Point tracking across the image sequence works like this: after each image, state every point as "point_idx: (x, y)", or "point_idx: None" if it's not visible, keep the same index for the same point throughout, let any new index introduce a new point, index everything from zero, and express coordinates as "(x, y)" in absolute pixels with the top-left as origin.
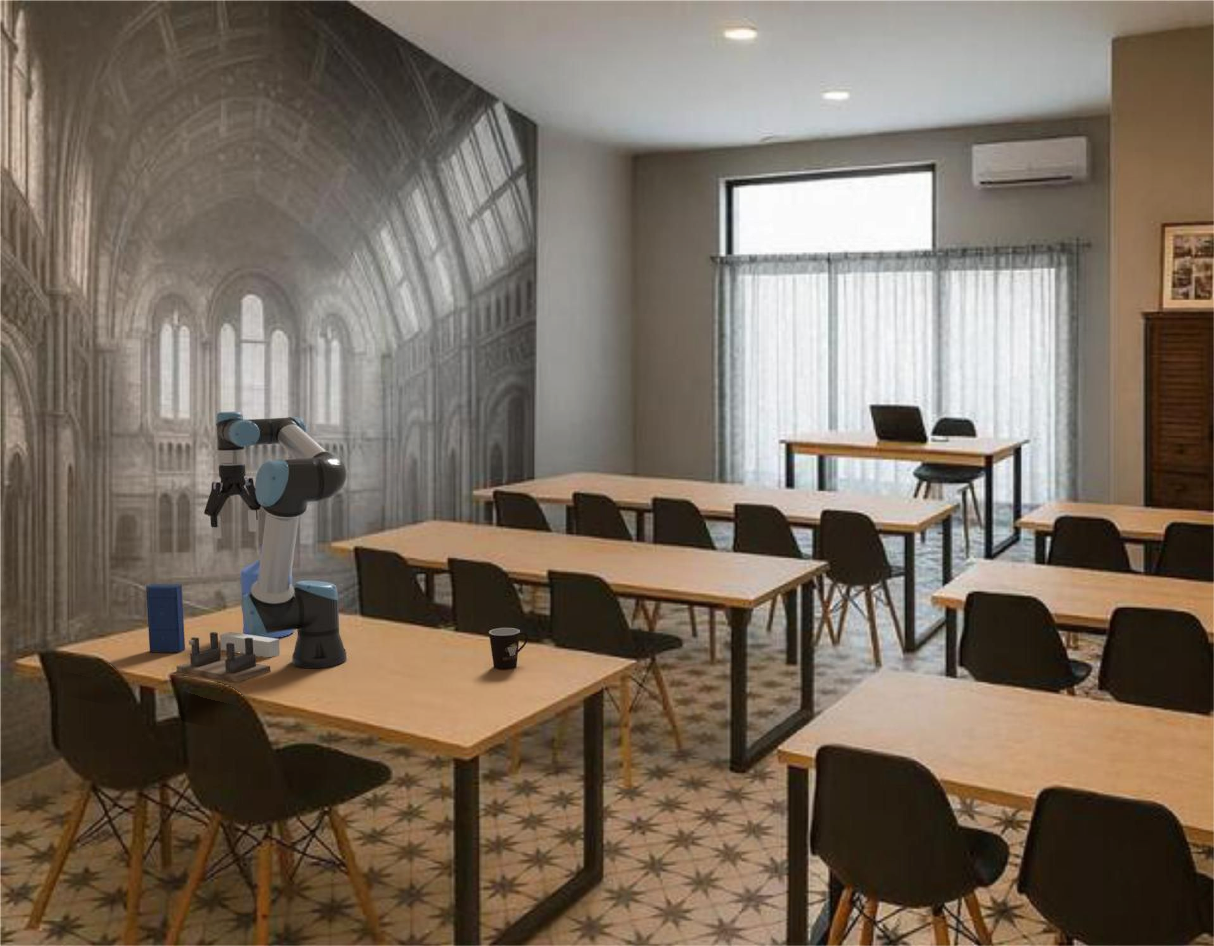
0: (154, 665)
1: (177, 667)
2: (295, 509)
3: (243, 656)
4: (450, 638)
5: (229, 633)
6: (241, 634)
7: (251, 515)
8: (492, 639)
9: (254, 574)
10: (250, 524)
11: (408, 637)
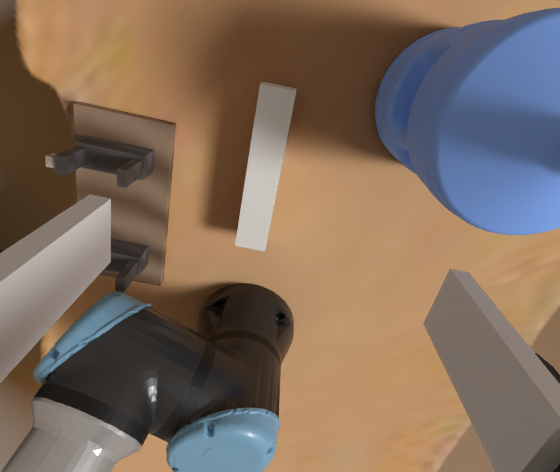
0: (88, 2)
1: (75, 106)
2: None
3: (114, 265)
4: (431, 431)
5: (281, 100)
6: (279, 140)
7: (495, 406)
8: None
9: (432, 149)
10: (463, 323)
11: (432, 380)
